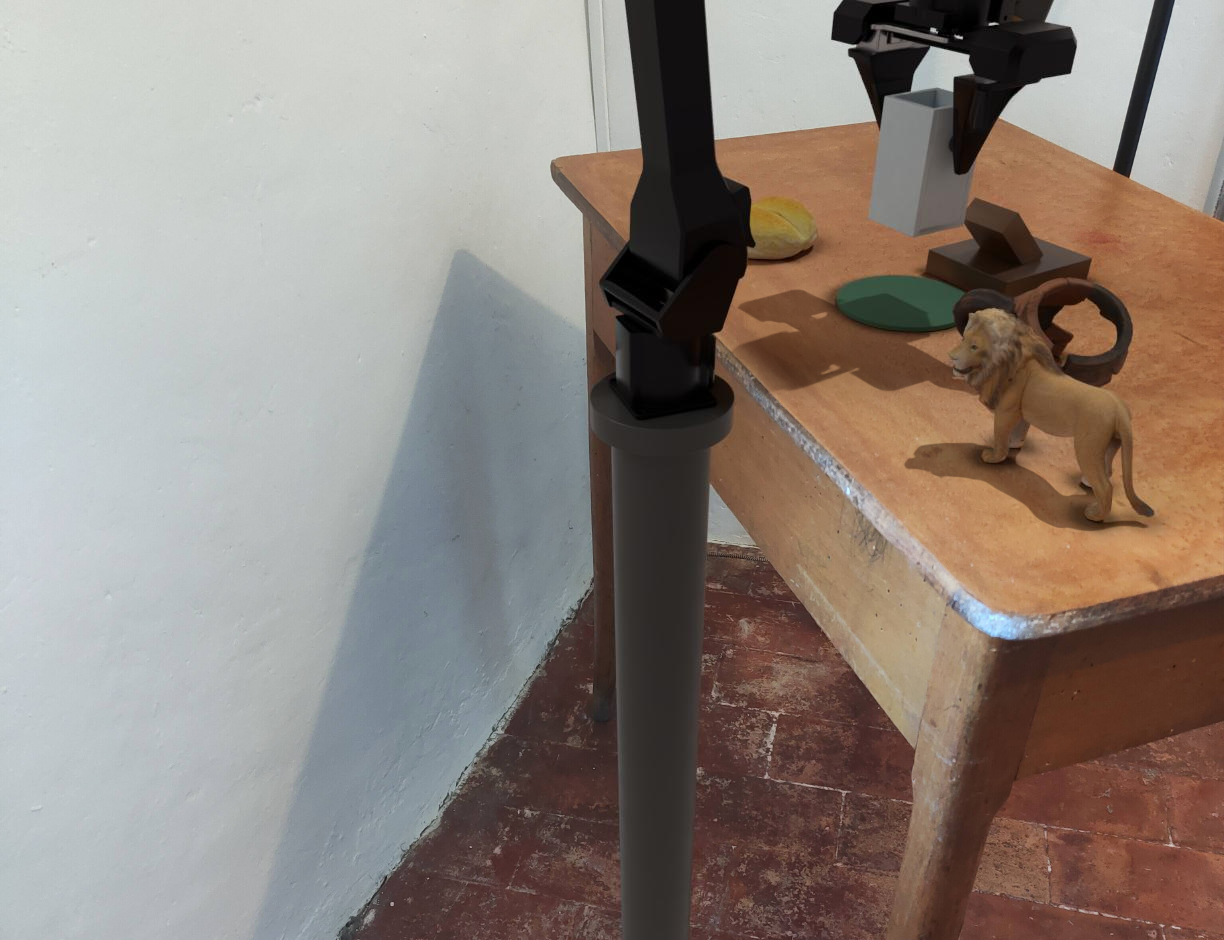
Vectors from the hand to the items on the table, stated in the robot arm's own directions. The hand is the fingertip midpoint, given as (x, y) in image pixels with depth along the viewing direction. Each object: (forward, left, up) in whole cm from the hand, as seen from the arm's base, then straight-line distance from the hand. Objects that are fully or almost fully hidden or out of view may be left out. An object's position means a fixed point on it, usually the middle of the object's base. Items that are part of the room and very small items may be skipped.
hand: (925, 161), depth 81 cm
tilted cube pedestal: (+11, +2, -11) cm, 16 cm away
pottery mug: (+1, -15, -12) cm, 19 cm away
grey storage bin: (-4, -1, -4) cm, 5 cm away
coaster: (0, 0, -11) cm, 11 cm away
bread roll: (-4, +17, -12) cm, 21 cm away
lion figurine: (-7, -26, -12) cm, 29 cm away
